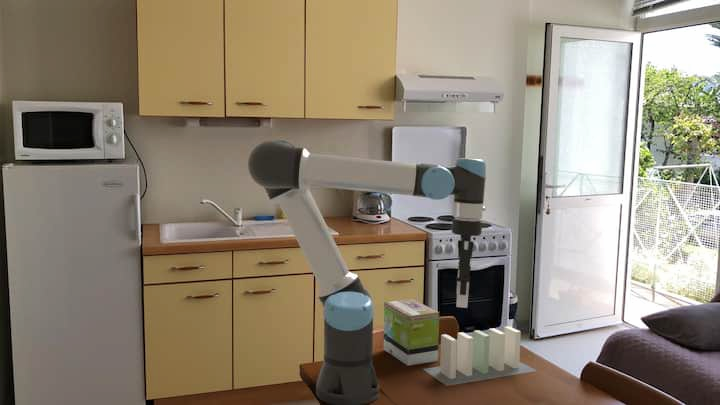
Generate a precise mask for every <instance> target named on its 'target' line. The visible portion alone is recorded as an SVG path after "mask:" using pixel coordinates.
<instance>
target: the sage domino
mask: <svg viewBox="0 0 720 405" xmlns="http://www.w3.org/2000/svg"><path fill="white" fill-rule="evenodd" d="M472 337H473V364H472V367H473V368H475V369H476V370H478V371H480V372H481V373H483V374H484V373H488V367H489V342H490V336H489V334H487V333H485V332H483V331H481V330H479V329H478V330H477V329H476V330H473V336H472Z"/></svg>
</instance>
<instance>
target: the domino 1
mask: <svg viewBox="0 0 720 405" xmlns="http://www.w3.org/2000/svg"><path fill="white" fill-rule="evenodd" d="M439 358H440V361H439V362H440V364H439V366H440V372H441V373H442V374H444V375H445V376H447V377H448V378H449V379H453V378H456V364H457V338H456V339H455V338H454V337H452V336H450V335H449V334H441V335H440V357H439Z"/></svg>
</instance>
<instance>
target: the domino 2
mask: <svg viewBox="0 0 720 405" xmlns="http://www.w3.org/2000/svg"><path fill="white" fill-rule="evenodd" d="M456 336H457V338H456V340H457V350H456V370H458V371H459V372H461V373H463V374H464V375H466V376H472V364H473V336H470V335H469V334H467V333H465V332H464V331H463V332H462V331H461V332H457V335H456Z"/></svg>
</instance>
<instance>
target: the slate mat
mask: <svg viewBox="0 0 720 405" xmlns="http://www.w3.org/2000/svg"><path fill="white" fill-rule="evenodd" d="M422 370H423V371H424V372H426V373H428V374H429V375H431V377H433V378H434V379H436V380H437V381H438V382H440V383H442V384H443V385H445V386H446V387H449V386H455V385H461V384H467V383H474V382H481V381H485V380H486V381H487V380H491V379H498V378H503V377H509V376H515V375H522V374H529V373H534V372H537V371H538V370H537V369H535V368H533V367H531V366H529V365H527V364H525V363H523V362H521V361H520V360H519V368H515V369H514V368H512V367H510V366H509V365H507V364H505V363H504V370H503V371H498V370H496V369H494V368H493V367H491V366H489V367H488V373H484V374H483V373H481V372H480V371H478V370H476V369H475V368H473V367H472V376H466V375H464V374H463V373H461V372H459V371H458V370H456V378H453V379H449V378H448V377H447V376H445V375H444V374H442V373H441V372H440V365H439V366H432V367H428V368H422Z"/></svg>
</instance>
